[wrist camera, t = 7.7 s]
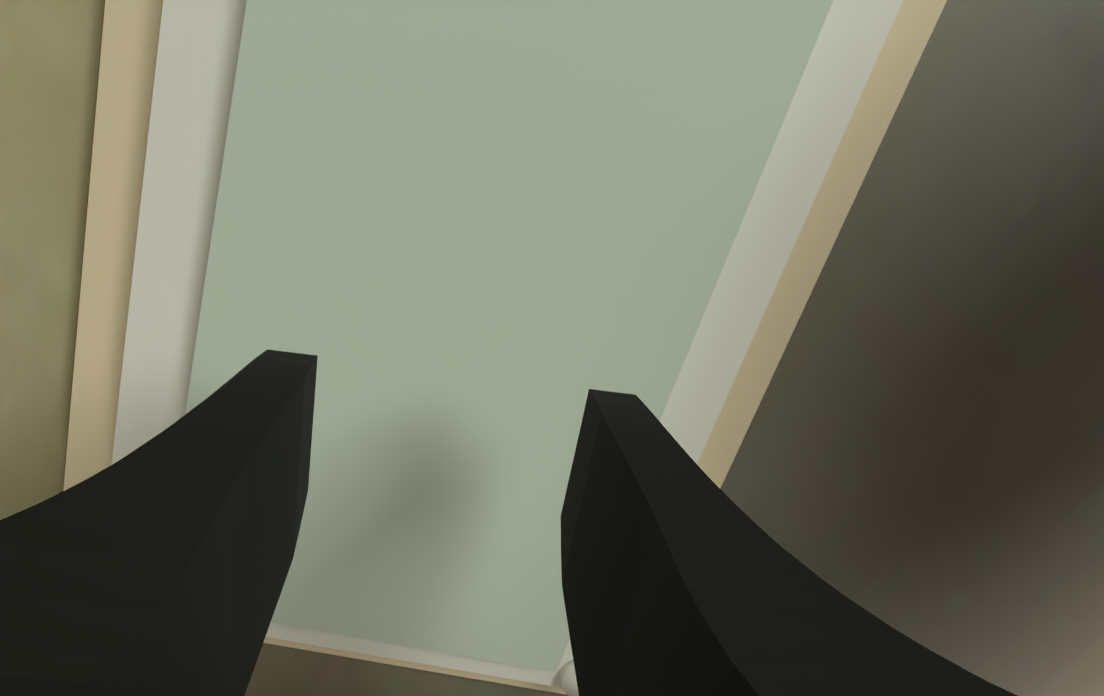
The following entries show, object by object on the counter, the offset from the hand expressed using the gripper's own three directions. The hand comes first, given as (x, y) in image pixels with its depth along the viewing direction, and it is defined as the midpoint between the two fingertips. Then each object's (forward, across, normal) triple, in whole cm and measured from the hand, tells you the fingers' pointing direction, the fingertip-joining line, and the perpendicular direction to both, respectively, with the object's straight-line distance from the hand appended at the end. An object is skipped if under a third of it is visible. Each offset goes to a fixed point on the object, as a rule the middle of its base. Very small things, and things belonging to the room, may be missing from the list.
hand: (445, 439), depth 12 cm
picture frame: (+5, 0, 0) cm, 5 cm away
